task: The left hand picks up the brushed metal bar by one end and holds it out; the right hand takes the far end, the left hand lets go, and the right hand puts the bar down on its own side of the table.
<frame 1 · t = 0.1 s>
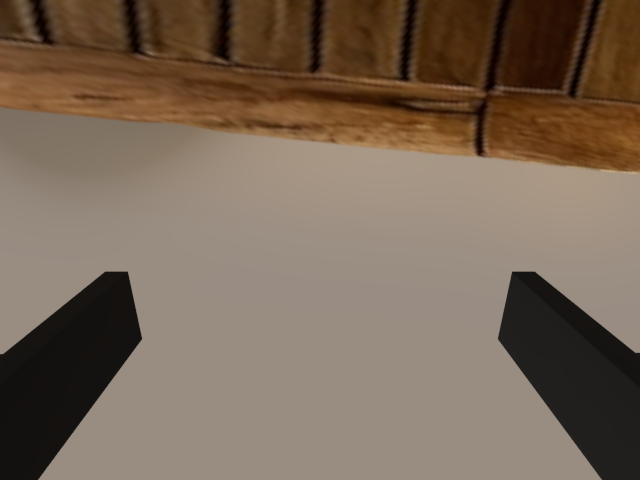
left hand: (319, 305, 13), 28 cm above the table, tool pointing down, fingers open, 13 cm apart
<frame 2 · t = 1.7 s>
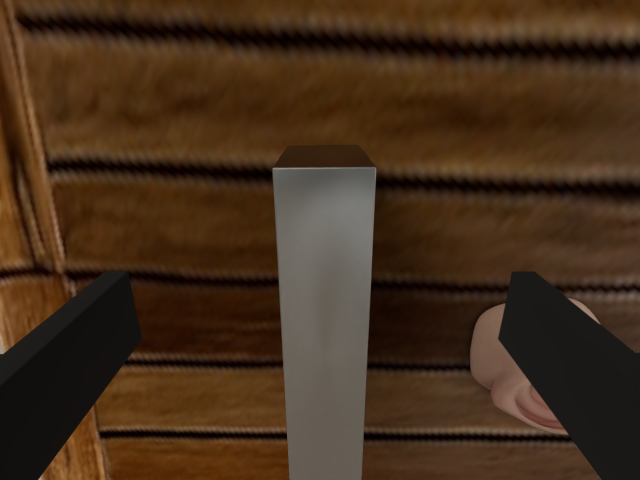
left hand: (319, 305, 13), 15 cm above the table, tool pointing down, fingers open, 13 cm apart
anatomical model: (537, 354, 31), on the table
bar: (323, 287, 29), on the table
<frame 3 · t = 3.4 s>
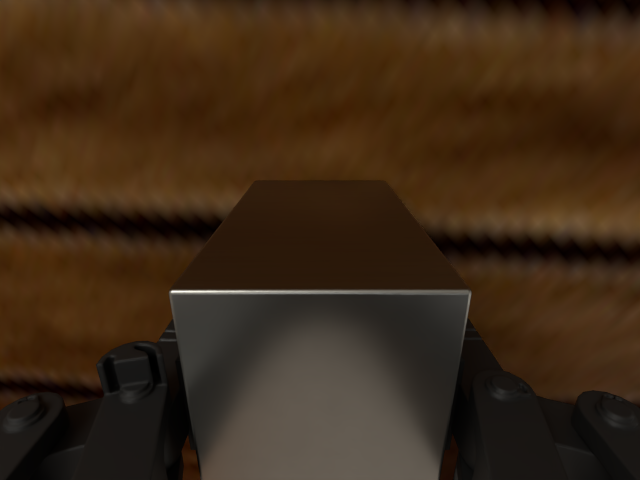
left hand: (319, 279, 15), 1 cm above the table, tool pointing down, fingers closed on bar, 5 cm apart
bar: (320, 405, 18), on the table, touching left hand
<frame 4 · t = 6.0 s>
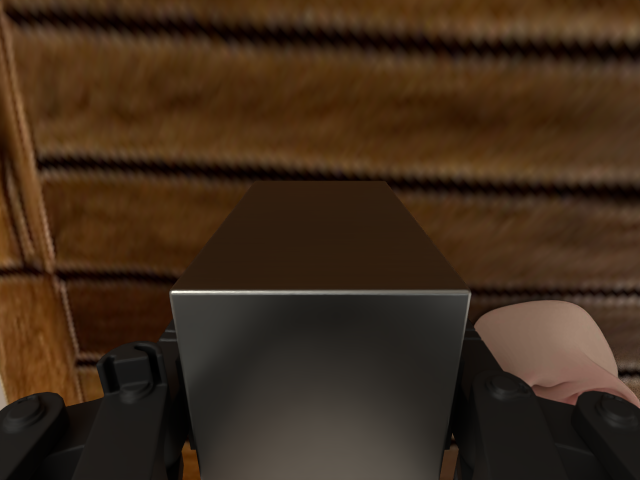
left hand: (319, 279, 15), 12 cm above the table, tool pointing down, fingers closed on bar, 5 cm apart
anatomical model: (536, 359, 31), on the table
bar: (320, 405, 18), point 12 cm above the table, touching left hand
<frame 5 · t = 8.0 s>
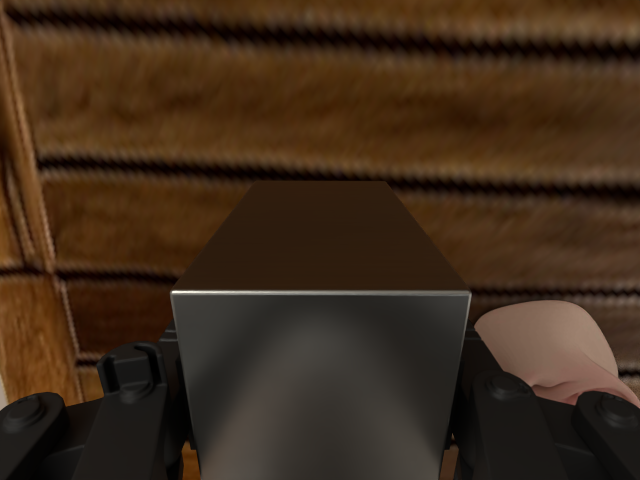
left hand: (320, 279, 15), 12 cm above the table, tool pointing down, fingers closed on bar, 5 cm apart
anatomical model: (536, 359, 31), on the table
bar: (319, 405, 18), point 12 cm above the table, touching left hand, right hand
when the left hand's fingers open (12 cm above the table, at t = 8.7 s): bar stays where it is, held by the right hand.
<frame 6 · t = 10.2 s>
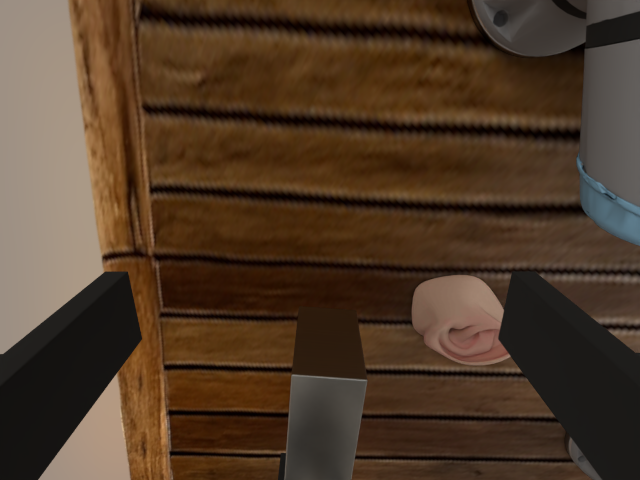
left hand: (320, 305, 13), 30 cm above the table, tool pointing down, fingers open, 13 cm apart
anatomical model: (456, 314, 48), on the table
bar: (317, 406, 35), point 14 cm above the table, touching right hand
when the right hand's fingers open (2 cm above the table, at t = 12.4 s): bar drops 1 cm, on the table.
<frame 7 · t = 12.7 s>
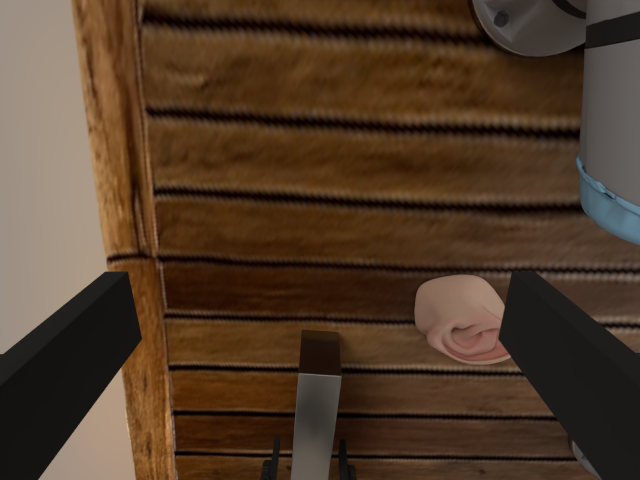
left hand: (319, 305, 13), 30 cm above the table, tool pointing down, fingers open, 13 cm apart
anatomical model: (459, 313, 48), on the table
bar: (314, 394, 53), on the table
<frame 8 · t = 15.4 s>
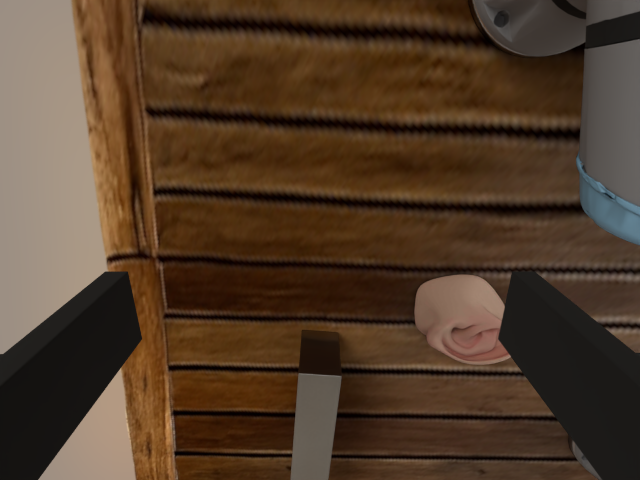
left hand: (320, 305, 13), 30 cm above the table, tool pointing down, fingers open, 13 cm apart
anatomical model: (459, 313, 48), on the table
bar: (314, 394, 53), on the table
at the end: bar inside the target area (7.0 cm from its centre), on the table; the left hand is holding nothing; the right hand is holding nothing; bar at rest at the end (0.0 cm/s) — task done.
